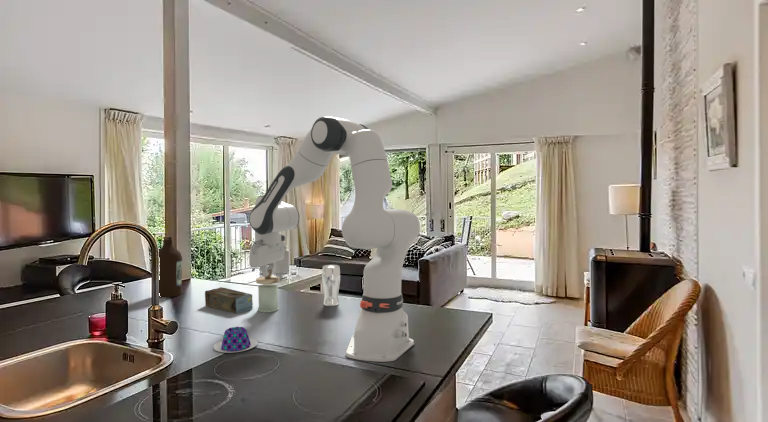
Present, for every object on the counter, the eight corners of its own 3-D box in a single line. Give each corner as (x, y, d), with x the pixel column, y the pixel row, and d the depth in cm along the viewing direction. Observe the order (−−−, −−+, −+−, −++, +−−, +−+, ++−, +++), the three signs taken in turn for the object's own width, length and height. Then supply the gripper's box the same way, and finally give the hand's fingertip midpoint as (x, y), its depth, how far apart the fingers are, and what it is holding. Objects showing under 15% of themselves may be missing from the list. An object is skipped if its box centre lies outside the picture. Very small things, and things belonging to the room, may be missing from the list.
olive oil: (152, 298, 182) (150, 238, 181) (159, 292, 192) (157, 235, 191) (180, 297, 184) (178, 237, 183) (185, 291, 195) (184, 234, 193)
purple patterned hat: (207, 346, 128) (206, 328, 128) (246, 337, 136) (246, 320, 136) (223, 358, 119) (223, 339, 119) (265, 347, 127) (264, 329, 127)
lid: (272, 284, 160) (272, 273, 160) (251, 283, 162) (251, 272, 162) (283, 280, 168) (283, 269, 168) (263, 278, 170) (263, 268, 170)
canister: (272, 313, 161) (272, 288, 161) (253, 311, 163) (253, 287, 162) (282, 307, 168) (282, 284, 168) (264, 306, 170) (264, 283, 170)
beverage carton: (235, 314, 160) (235, 296, 160) (204, 306, 171) (203, 289, 171) (253, 309, 167) (253, 292, 166) (221, 302, 177) (221, 286, 177)
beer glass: (339, 306, 170) (338, 267, 169) (321, 306, 170) (320, 267, 169) (341, 301, 177) (341, 264, 176) (323, 301, 177) (323, 264, 176)
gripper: (260, 242, 153) (261, 281, 154) (287, 235, 173) (288, 270, 174) (244, 241, 155) (245, 280, 156) (273, 235, 175) (273, 270, 176)
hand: (268, 275), depth 165 cm, fingers closed on lid, 2 cm apart
